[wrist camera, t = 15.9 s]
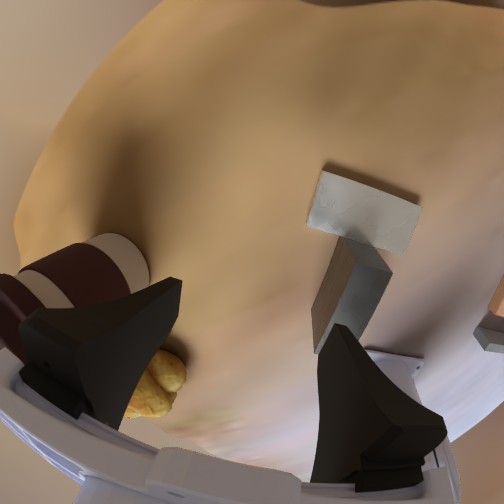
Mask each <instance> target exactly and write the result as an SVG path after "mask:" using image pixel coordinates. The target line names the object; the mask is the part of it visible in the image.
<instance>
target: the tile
mask: <svg viewBox="0 0 504 504" xmlns="http://www.w3.org/2000/svg"><path fill="white" fill-rule="evenodd" d="M488 308H489V309H490V310H491V311H492V312H493V313H494V314H495V315H498V316H502V317H504V274H503V277H502V279H501V281H500V283H499V285H498V288H497V290H496V292H495V294H494V296H493V298H492V300H491V302H490V304H489V306H488Z"/></svg>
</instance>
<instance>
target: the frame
mask: <svg viewBox="0 0 504 504" xmlns="http://www.w3.org/2000/svg"><path fill="white" fill-rule="evenodd" d="M473 335H474V336H475V338H476V339H477V341H478V342H479V343H480V345H481V346H482V348H483V349H484V351H490V352H497V353H504V333H503V332H499V331H494V330H490V329H486V328H482V327H477V328H476V330H475V331H474V333H473Z"/></svg>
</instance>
